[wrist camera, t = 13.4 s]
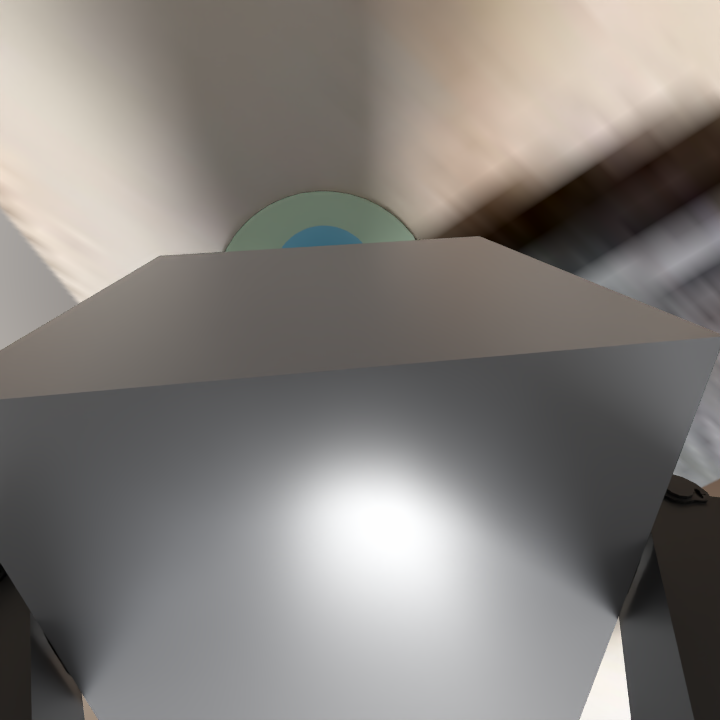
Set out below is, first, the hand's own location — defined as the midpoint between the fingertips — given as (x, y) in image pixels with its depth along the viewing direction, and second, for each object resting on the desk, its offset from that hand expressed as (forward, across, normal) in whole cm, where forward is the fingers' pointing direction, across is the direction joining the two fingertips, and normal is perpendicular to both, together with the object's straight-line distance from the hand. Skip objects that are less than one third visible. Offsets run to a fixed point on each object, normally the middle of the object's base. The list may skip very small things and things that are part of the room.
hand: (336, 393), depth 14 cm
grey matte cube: (+1, 0, 0) cm, 1 cm away
